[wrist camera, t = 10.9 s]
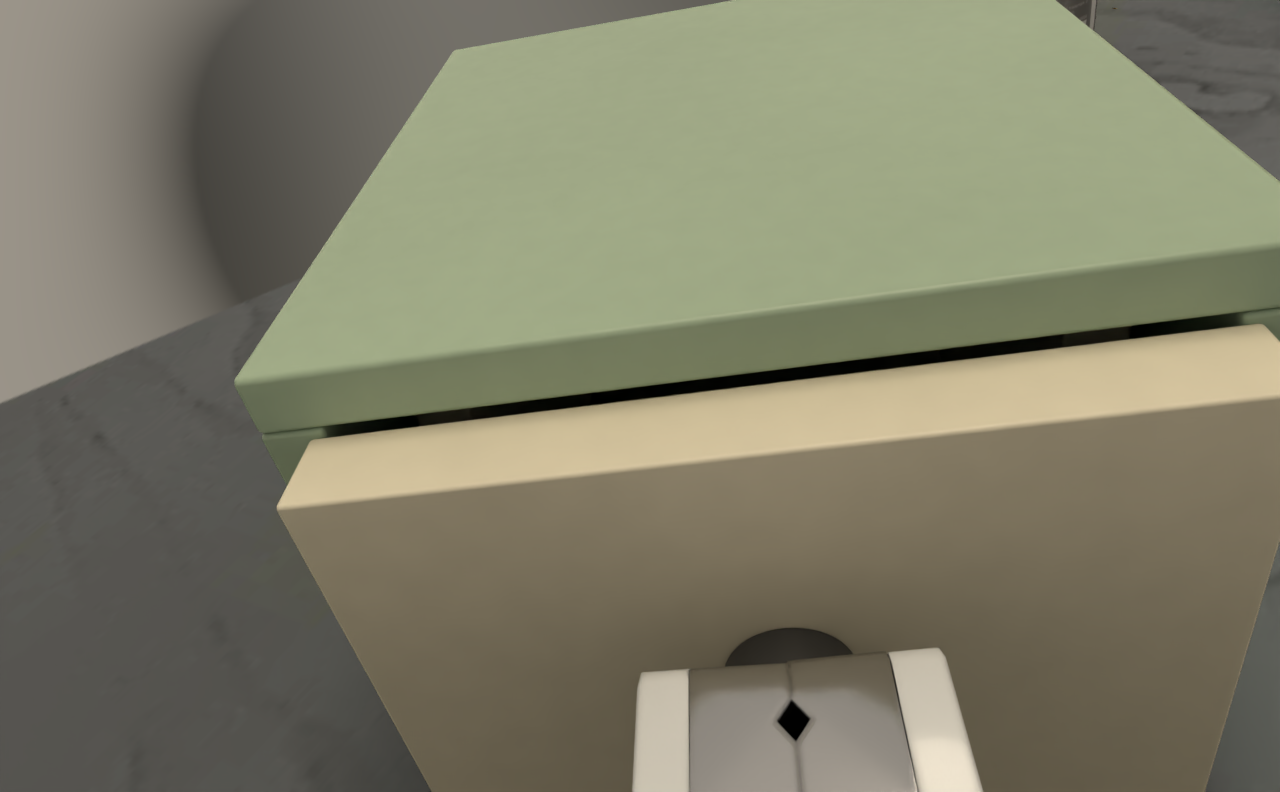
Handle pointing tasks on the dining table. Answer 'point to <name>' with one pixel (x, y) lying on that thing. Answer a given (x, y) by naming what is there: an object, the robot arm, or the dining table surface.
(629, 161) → the cabinet
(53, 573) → the dining table surface
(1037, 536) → the drawer
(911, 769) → the robot arm
